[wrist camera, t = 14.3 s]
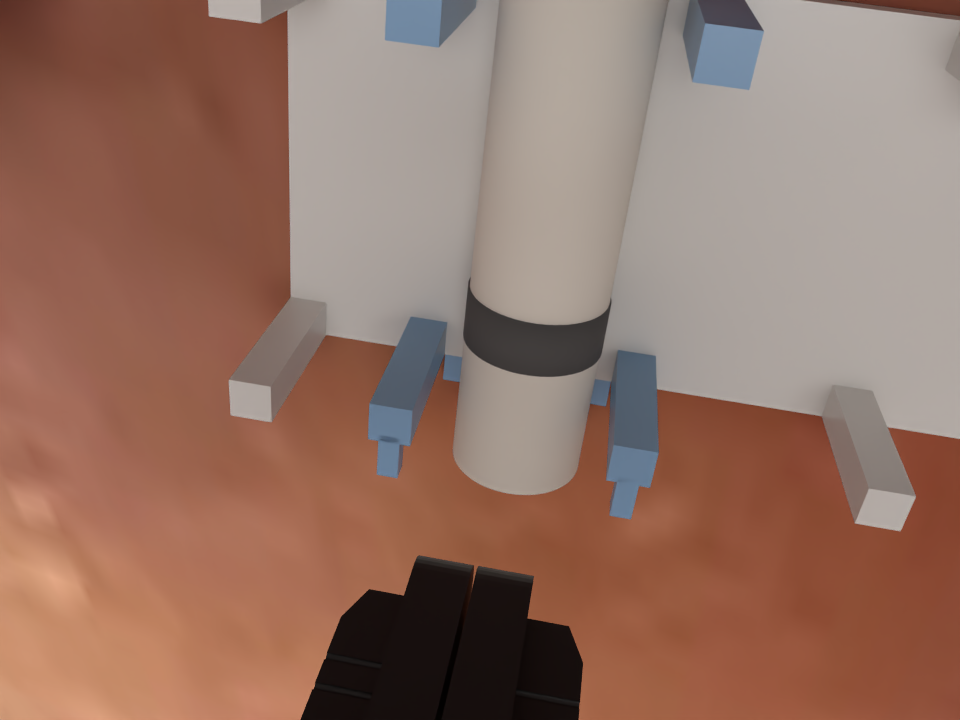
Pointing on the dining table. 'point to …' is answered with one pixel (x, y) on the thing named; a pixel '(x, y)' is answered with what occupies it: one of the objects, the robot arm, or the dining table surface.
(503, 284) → the banded cream tube
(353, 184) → the white pegged rack
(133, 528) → the dining table surface
